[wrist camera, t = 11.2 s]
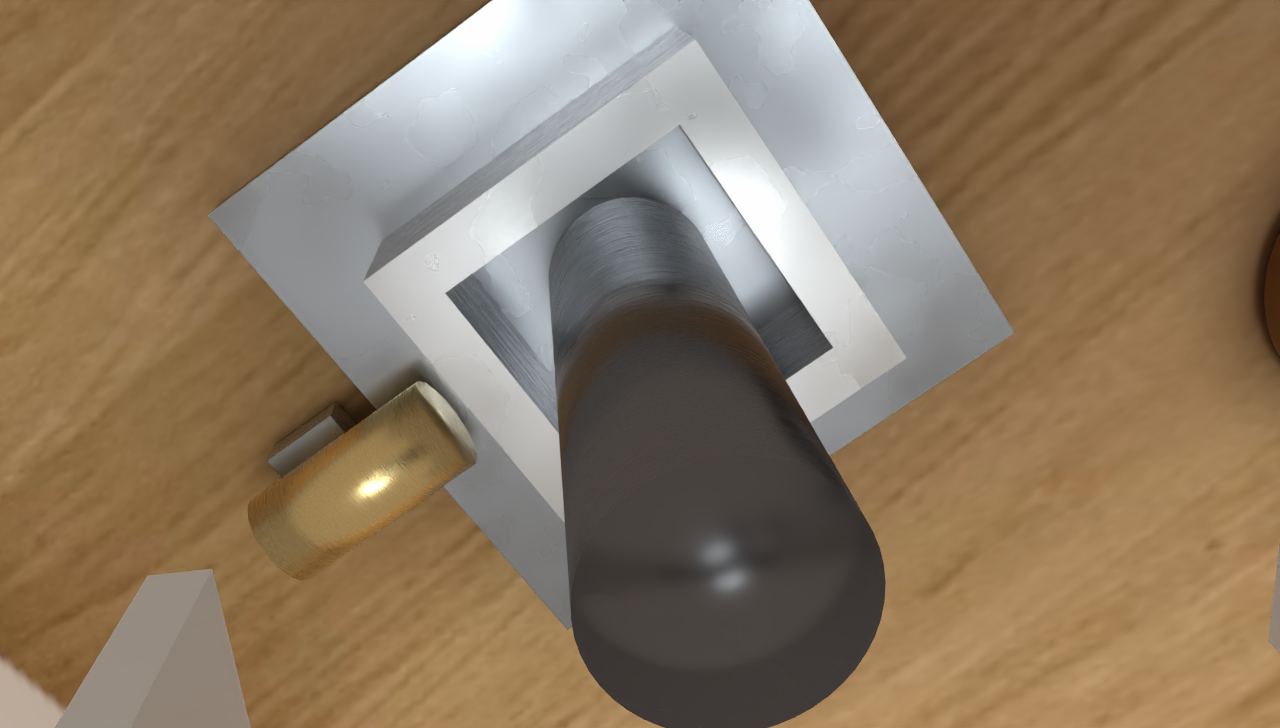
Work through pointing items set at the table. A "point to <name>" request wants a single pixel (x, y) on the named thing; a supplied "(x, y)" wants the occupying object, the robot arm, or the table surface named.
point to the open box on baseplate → (536, 219)
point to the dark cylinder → (695, 488)
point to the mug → (1273, 295)
